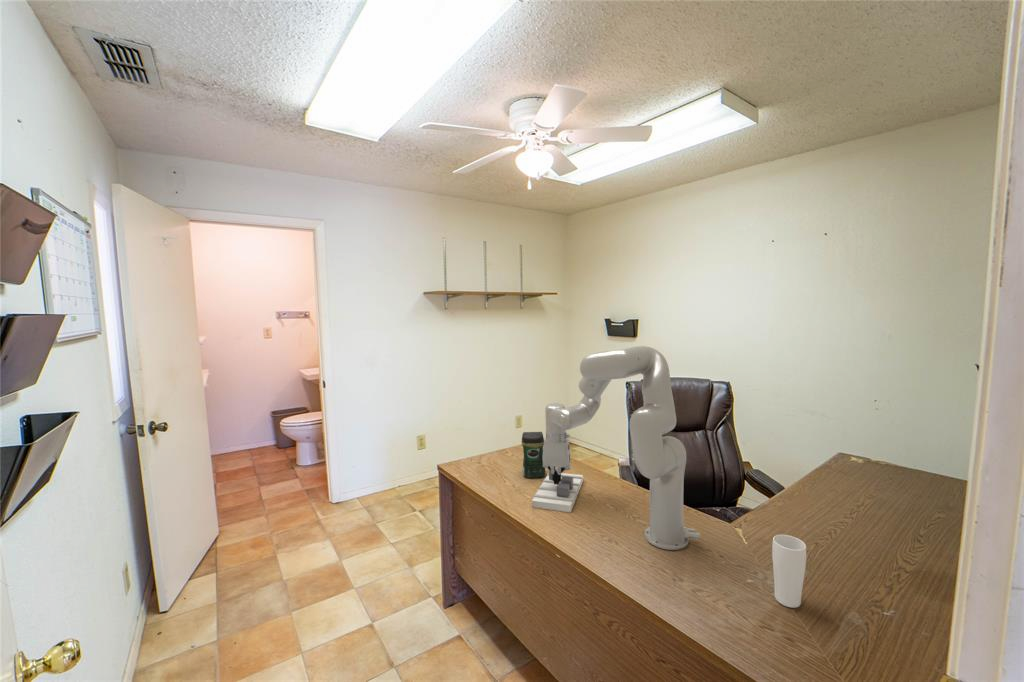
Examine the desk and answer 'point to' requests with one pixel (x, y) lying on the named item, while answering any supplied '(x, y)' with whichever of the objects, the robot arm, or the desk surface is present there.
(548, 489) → the switch board
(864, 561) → the desk surface
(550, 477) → the tab
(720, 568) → the desk surface
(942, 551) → the desk surface
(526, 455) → the coffee jar
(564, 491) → the tab
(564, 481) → the tab
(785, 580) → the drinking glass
